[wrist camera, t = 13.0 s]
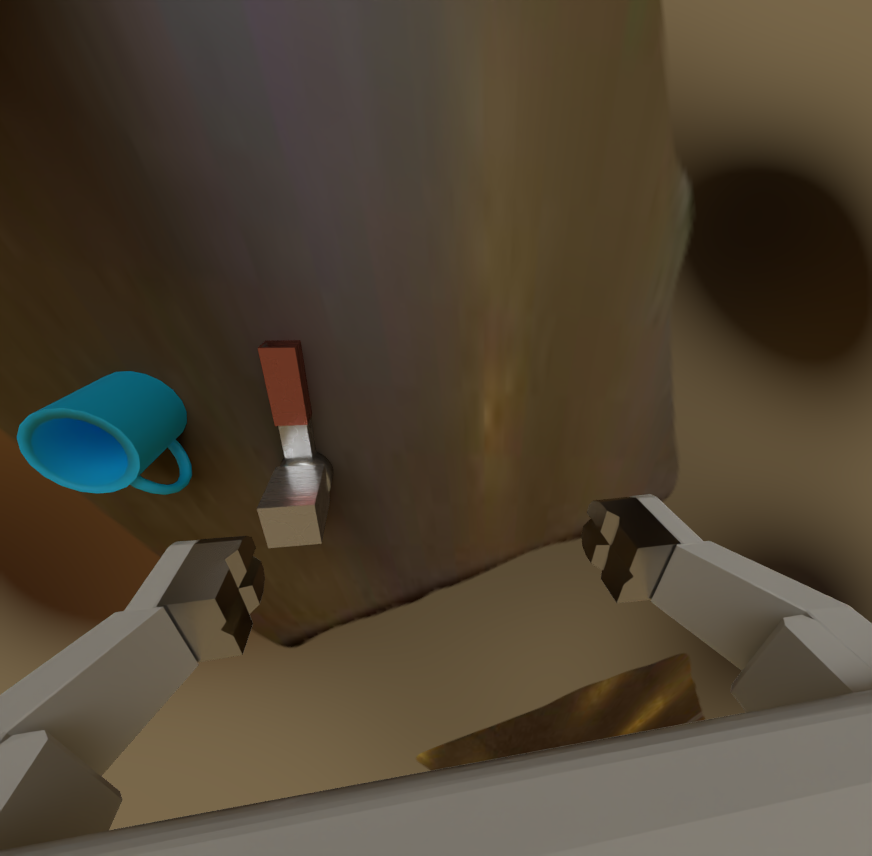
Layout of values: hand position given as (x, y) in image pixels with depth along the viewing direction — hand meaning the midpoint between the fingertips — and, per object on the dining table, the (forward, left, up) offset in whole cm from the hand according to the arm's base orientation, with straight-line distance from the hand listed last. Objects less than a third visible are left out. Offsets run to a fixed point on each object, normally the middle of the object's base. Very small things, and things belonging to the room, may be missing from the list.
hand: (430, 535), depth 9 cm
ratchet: (+12, -11, -29) cm, 33 cm away
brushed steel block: (+18, -11, -26) cm, 33 cm away
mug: (+11, -25, -29) cm, 40 cm away
